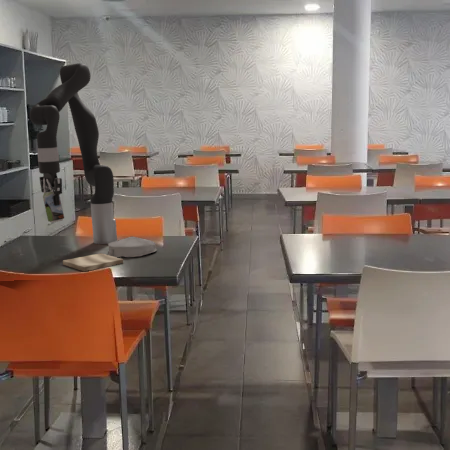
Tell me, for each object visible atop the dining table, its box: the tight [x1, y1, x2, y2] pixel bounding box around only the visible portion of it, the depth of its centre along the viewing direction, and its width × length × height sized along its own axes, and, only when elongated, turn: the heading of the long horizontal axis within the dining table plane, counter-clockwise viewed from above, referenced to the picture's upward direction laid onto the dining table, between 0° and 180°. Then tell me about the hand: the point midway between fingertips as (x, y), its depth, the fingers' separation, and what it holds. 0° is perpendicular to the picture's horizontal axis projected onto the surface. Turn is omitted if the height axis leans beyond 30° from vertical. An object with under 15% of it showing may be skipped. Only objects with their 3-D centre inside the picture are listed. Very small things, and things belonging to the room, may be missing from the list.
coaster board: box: [62, 252, 124, 272], centre depth 233 cm, size 16×16×2 cm
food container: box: [107, 236, 158, 258], centre depth 251 cm, size 20×20×7 cm
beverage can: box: [42, 191, 65, 223], centre depth 238 cm, size 6×7×12 cm
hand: (52, 204), depth 239 cm, fingers closed on beverage can, 6 cm apart
